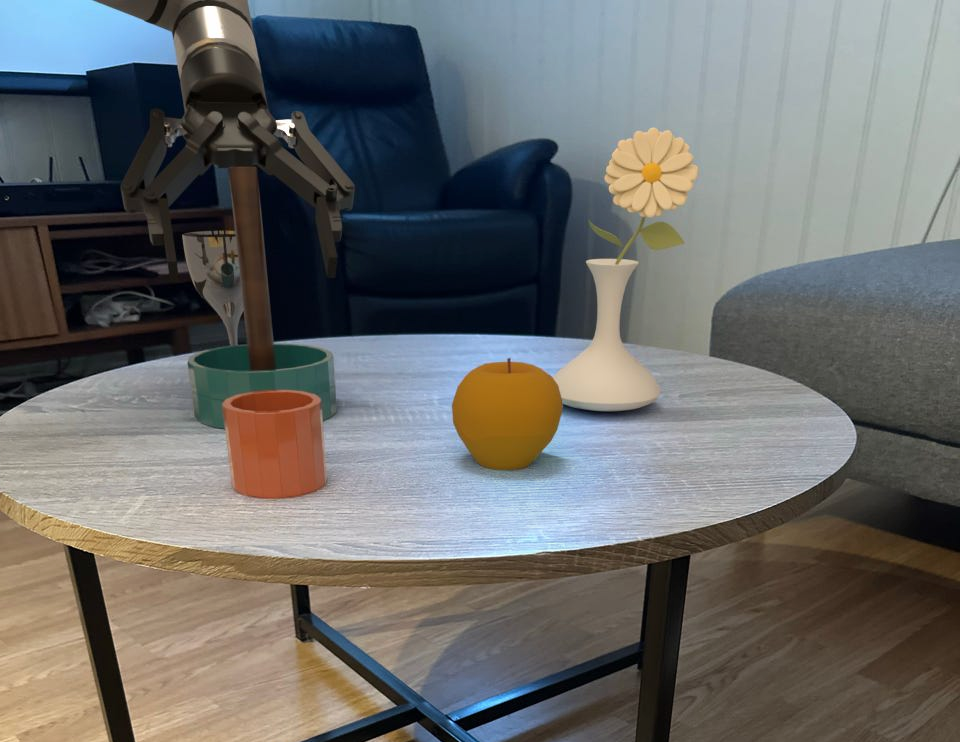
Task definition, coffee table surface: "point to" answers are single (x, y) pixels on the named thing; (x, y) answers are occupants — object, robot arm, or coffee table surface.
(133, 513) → the coffee table surface
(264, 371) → the bowl
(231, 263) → the wine glass
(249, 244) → the stick
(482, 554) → the coffee table surface
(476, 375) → the apple
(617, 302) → the flower in vase
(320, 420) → the crock
